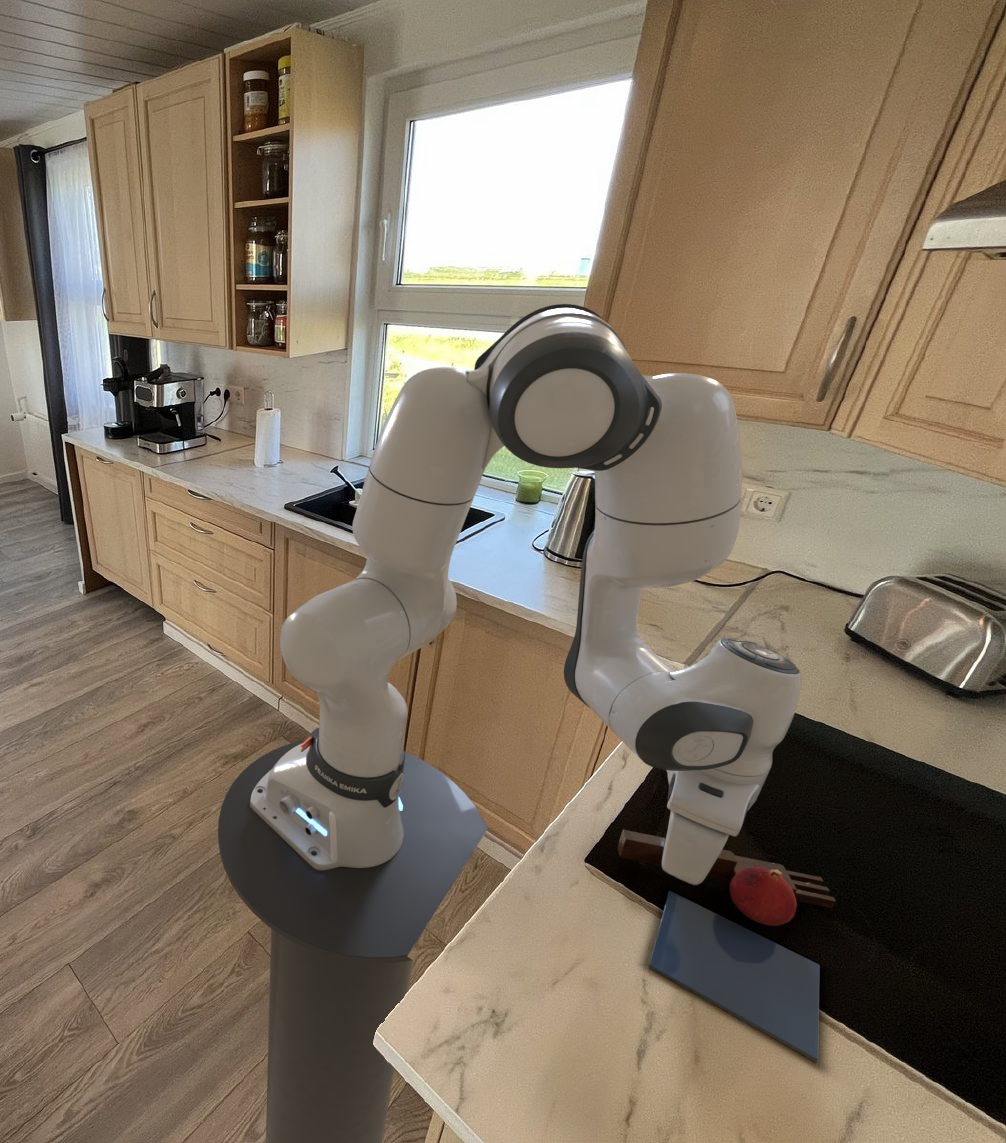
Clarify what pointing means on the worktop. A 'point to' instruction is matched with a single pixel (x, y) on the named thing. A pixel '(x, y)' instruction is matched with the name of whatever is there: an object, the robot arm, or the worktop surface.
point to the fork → (726, 866)
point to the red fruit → (763, 895)
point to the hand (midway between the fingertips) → (679, 854)
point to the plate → (740, 973)
